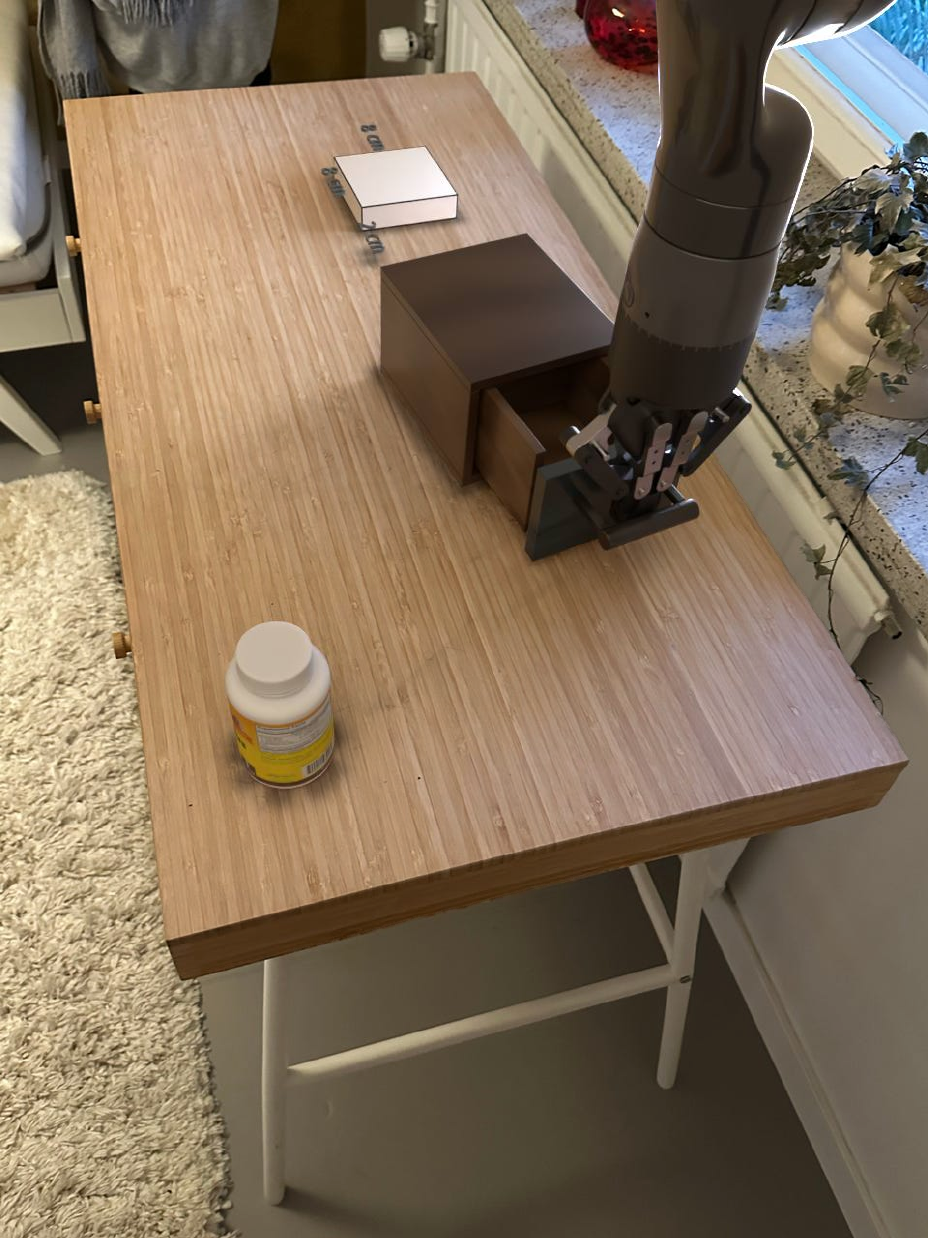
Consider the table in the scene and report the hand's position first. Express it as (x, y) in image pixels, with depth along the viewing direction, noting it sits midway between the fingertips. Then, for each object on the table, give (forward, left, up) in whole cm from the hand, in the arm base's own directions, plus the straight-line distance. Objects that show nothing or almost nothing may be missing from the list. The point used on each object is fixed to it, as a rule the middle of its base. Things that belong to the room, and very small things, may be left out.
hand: (629, 523), depth 68 cm
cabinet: (0, -19, -4) cm, 19 cm away
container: (-5, -50, -5) cm, 50 cm away
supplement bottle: (+26, +4, -5) cm, 27 cm away
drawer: (0, -7, -3) cm, 7 cm away
